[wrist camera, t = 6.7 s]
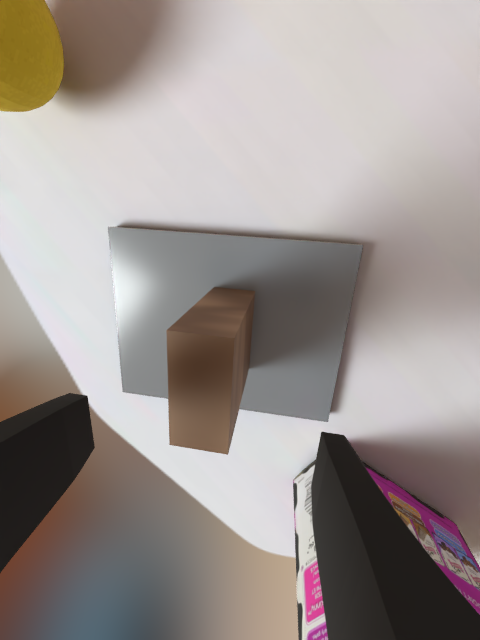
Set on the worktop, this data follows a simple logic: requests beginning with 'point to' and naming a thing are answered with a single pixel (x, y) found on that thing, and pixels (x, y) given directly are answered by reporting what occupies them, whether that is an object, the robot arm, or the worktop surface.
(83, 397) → the robot arm
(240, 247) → the grey flat rectangular plate
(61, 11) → the worktop surface
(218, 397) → the walnut slab
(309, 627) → the candy bar box
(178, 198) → the worktop surface
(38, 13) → the lemon
